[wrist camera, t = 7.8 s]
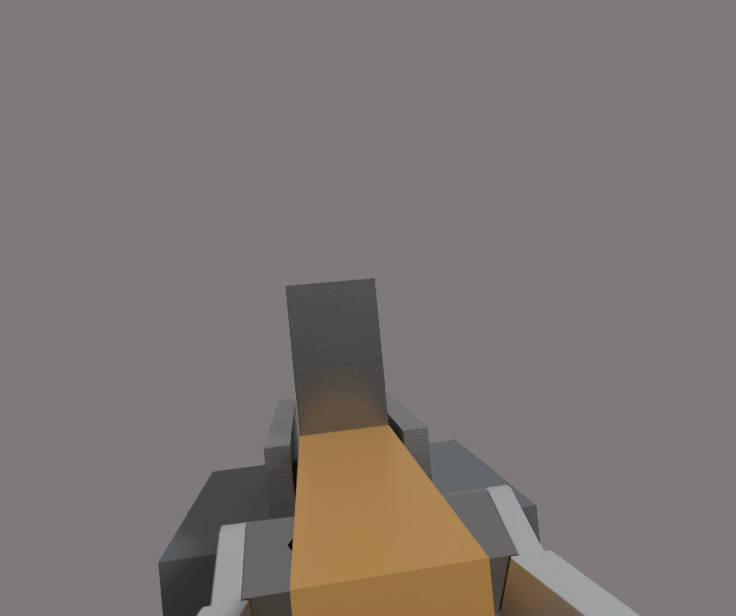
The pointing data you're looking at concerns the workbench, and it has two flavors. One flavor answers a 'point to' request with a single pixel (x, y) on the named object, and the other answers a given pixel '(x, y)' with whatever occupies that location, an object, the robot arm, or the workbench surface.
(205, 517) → the stand
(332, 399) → the bar
